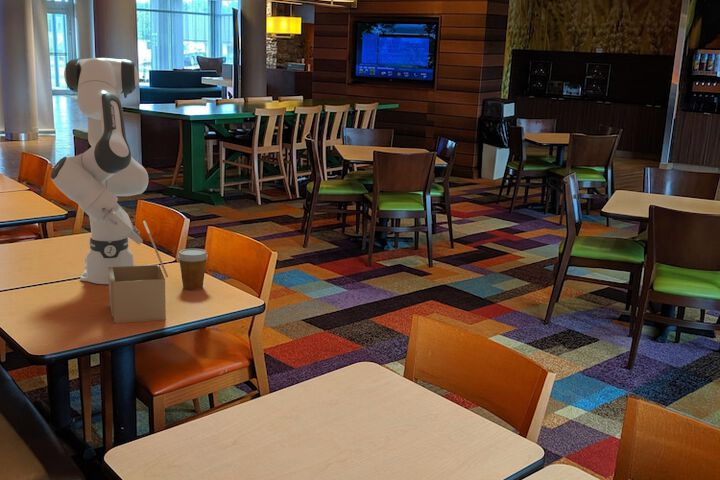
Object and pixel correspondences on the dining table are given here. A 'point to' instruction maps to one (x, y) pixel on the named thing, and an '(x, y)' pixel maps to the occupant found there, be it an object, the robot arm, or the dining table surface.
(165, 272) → the lid flap
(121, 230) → the robot arm
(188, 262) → the disposable coffee cup
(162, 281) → the carton
